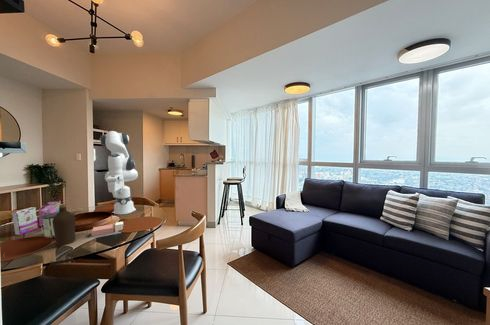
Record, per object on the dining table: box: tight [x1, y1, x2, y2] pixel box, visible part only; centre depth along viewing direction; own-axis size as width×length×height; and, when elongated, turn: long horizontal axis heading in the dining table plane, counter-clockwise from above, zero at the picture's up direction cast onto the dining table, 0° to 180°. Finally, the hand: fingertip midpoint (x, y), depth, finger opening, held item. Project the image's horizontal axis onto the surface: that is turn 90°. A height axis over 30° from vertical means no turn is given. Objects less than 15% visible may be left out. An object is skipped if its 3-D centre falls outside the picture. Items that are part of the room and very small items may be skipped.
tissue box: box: [42, 212, 59, 237], centre depth 142 cm, size 10×10×14 cm
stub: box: [114, 221, 124, 232], centre depth 148 cm, size 5×5×5 cm
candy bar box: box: [11, 206, 40, 236], centre depth 146 cm, size 11×5×16 cm, turn 168°
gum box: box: [37, 200, 62, 227], centre depth 165 cm, size 24×8×14 cm, turn 28°
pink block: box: [91, 223, 115, 237], centre depth 144 cm, size 7×12×4 cm, turn 120°
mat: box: [89, 230, 122, 240], centre depth 147 cm, size 12×28×1 cm, turn 120°
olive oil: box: [52, 204, 77, 247], centre depth 130 cm, size 11×11×25 cm
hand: (117, 195), depth 148 cm, fingers open, 8 cm apart
